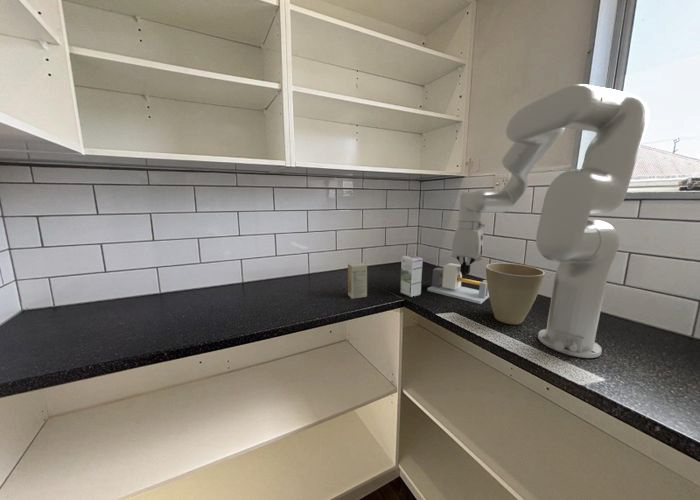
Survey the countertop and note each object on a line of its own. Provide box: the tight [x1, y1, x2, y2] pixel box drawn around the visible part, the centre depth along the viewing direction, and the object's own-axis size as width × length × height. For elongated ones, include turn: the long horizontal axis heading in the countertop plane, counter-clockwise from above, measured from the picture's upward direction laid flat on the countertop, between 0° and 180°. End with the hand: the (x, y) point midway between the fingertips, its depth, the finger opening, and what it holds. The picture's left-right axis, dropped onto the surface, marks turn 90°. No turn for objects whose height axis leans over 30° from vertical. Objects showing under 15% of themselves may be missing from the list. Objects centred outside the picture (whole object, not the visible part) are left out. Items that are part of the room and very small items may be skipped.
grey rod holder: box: [426, 267, 489, 305], centre depth 105 cm, size 12×22×8 cm, turn 48°
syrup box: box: [399, 254, 424, 298], centre depth 103 cm, size 6×6×14 cm
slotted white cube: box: [442, 262, 463, 290], centre depth 107 cm, size 6×5×8 cm
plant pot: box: [485, 262, 546, 325], centre depth 82 cm, size 15×15×16 cm
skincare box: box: [347, 262, 368, 300], centre depth 101 cm, size 6×4×12 cm
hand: (464, 274), depth 104 cm, fingers closed
